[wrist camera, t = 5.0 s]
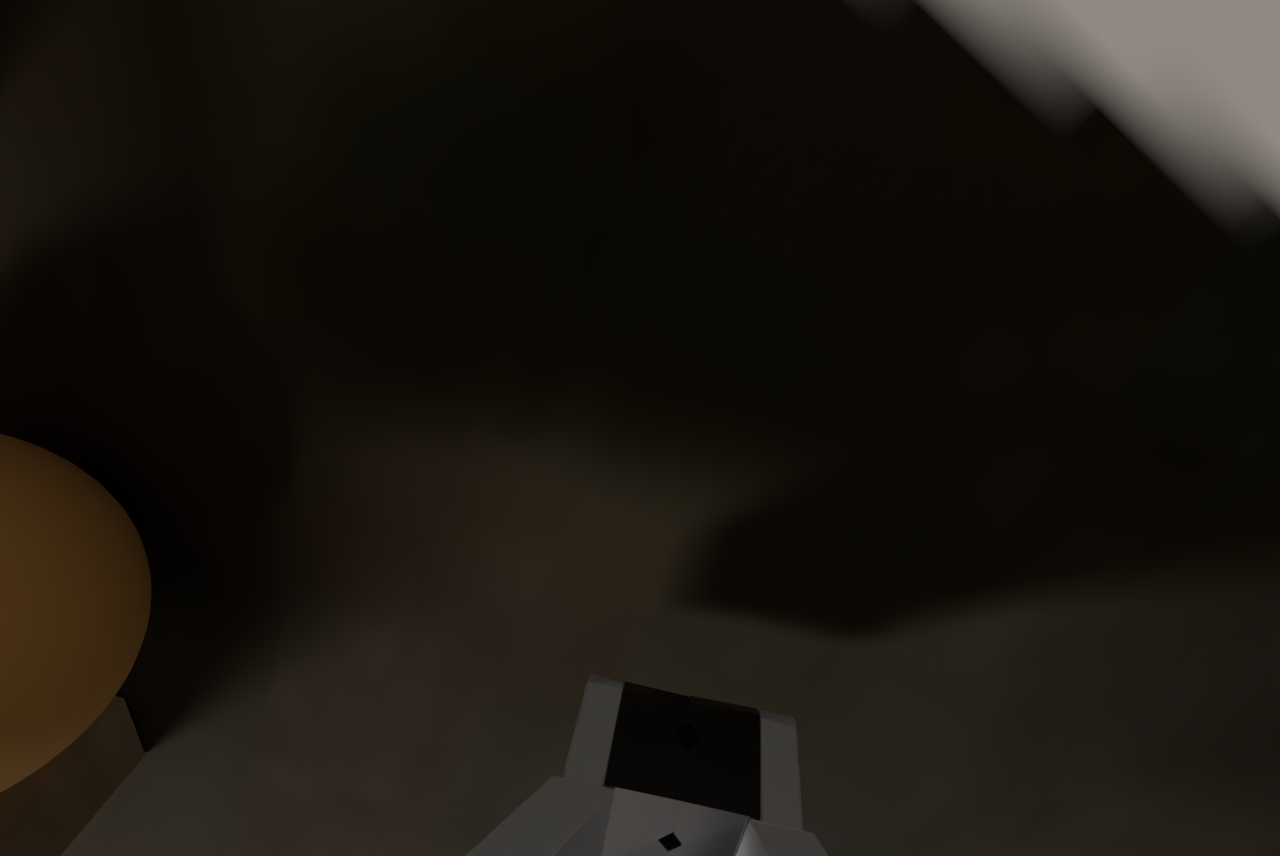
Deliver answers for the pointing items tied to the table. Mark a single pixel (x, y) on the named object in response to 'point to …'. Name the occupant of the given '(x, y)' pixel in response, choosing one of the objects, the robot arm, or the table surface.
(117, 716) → the bridge
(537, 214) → the table surface
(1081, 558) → the table surface
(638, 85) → the table surface
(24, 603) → the ball
